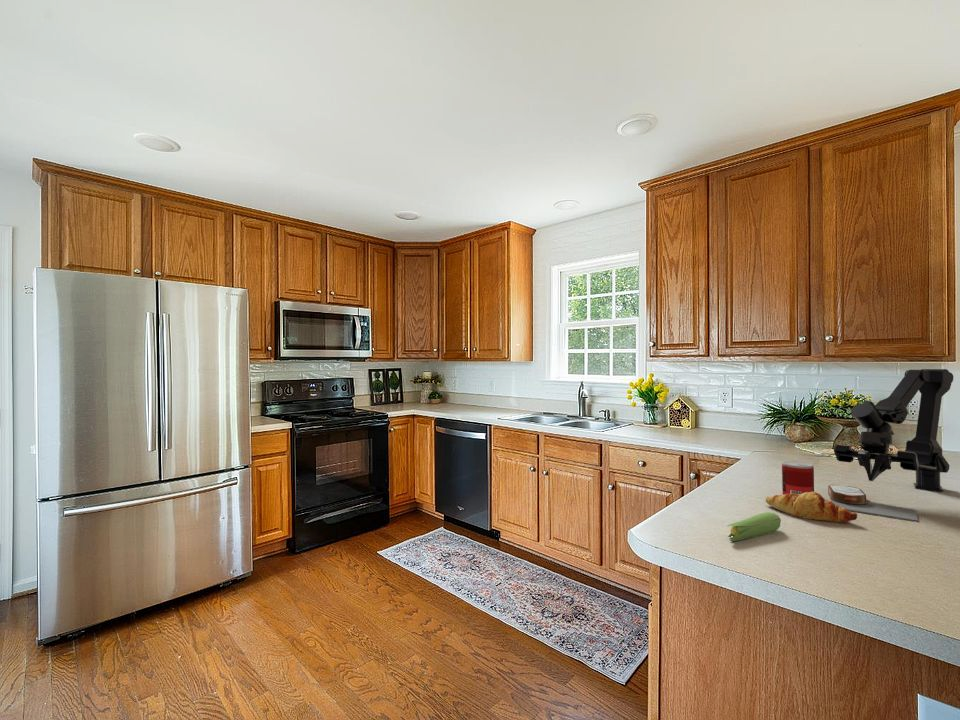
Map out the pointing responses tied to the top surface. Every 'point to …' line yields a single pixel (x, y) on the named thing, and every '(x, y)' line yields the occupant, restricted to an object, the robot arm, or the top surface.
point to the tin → (847, 494)
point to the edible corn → (755, 526)
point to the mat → (880, 510)
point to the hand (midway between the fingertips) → (870, 480)
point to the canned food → (797, 477)
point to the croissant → (810, 507)
